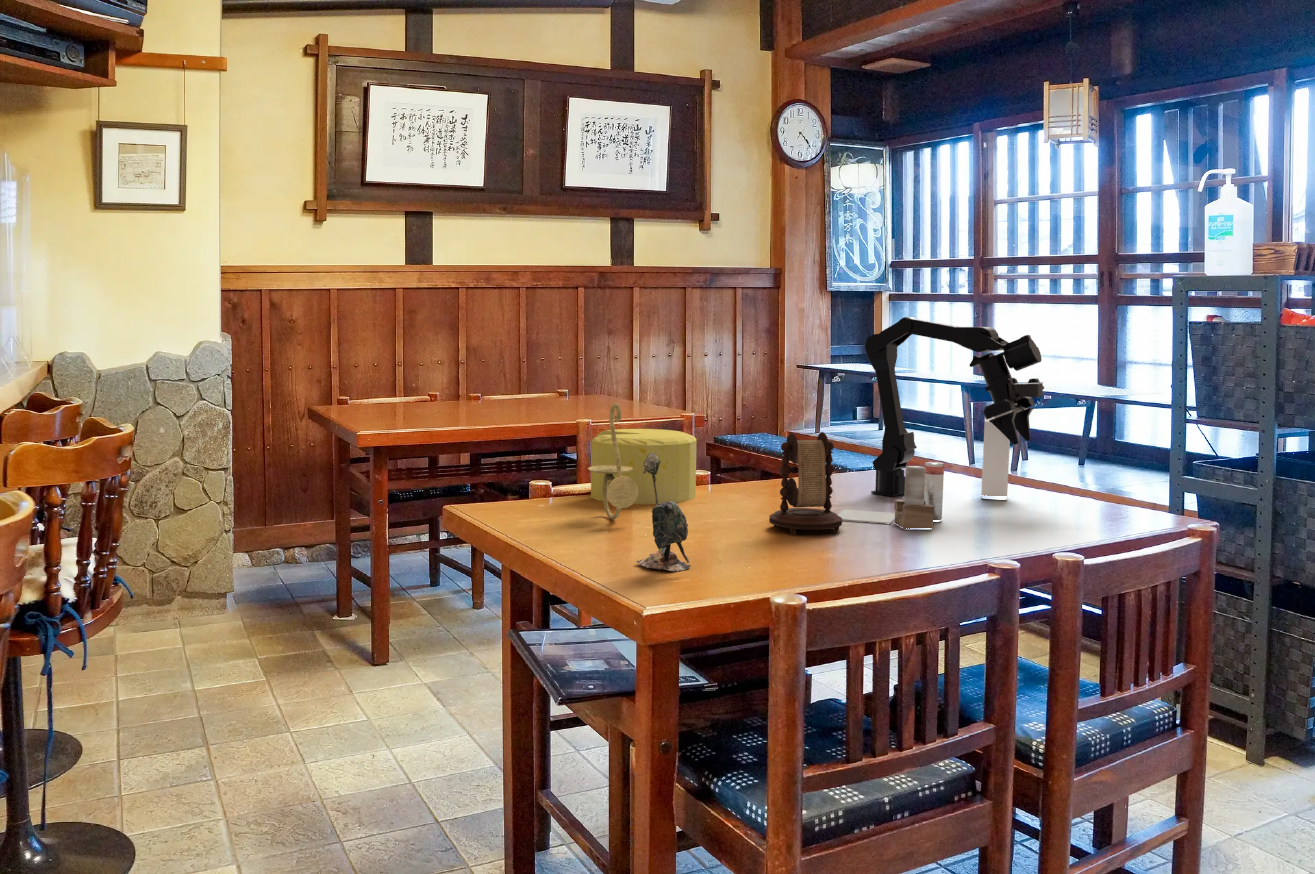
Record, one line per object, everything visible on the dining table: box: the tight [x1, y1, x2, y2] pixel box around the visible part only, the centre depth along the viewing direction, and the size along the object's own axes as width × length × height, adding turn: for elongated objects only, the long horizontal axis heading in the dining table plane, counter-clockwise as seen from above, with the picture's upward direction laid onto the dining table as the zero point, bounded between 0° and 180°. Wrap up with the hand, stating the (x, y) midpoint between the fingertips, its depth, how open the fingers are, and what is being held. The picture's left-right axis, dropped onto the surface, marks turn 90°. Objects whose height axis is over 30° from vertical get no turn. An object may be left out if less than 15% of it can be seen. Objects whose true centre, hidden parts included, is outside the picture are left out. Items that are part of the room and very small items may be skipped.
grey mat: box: [837, 508, 895, 524], centre depth 239 cm, size 12×12×1 cm
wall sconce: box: [587, 402, 638, 521], centre depth 232 cm, size 14×10×25 cm
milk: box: [980, 417, 1011, 497], centre depth 265 cm, size 6×6×22 cm
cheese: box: [590, 428, 697, 505], centre depth 264 cm, size 26×26×15 cm
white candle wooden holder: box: [894, 465, 934, 530], centre depth 228 cm, size 8×6×12 cm
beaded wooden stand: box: [768, 432, 843, 536], centre depth 224 cm, size 15×15×20 cm
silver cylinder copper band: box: [923, 461, 945, 520], centre depth 235 cm, size 4×4×12 cm
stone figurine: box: [636, 453, 692, 573], centre depth 188 cm, size 8×11×20 cm
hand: (1022, 442), depth 251 cm, fingers open, 9 cm apart
